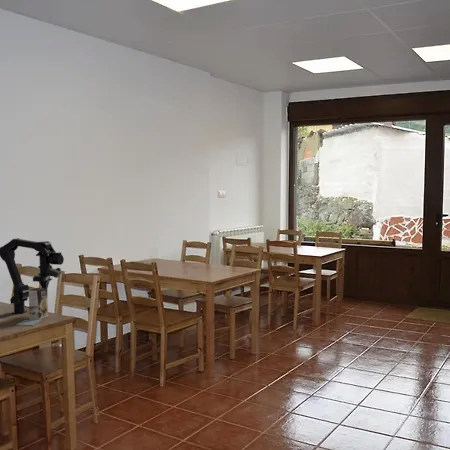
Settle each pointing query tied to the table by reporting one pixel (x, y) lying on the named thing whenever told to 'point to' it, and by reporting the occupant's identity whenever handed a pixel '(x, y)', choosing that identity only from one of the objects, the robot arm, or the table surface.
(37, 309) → the coffee box
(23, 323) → the mat
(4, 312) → the table surface
